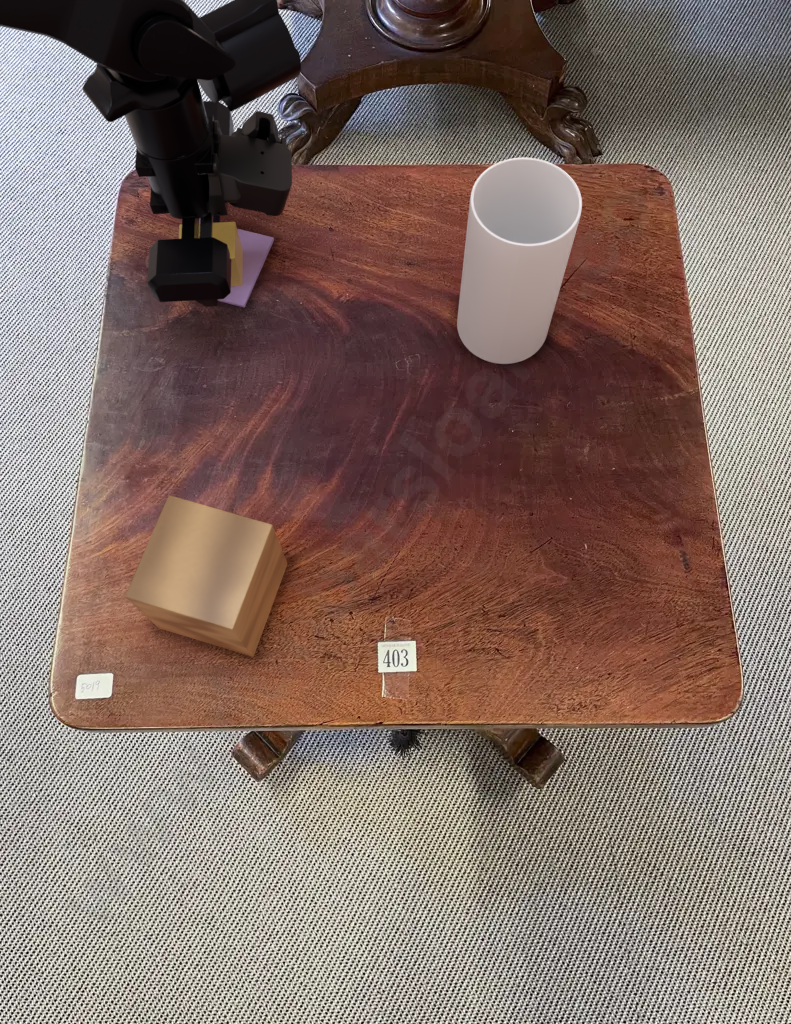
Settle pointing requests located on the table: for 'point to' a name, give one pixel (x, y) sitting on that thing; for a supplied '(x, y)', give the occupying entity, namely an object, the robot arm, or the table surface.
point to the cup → (515, 257)
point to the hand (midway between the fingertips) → (213, 262)
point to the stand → (209, 575)
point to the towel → (249, 265)
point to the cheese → (229, 247)
